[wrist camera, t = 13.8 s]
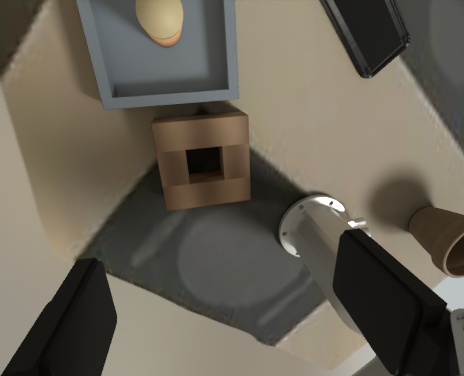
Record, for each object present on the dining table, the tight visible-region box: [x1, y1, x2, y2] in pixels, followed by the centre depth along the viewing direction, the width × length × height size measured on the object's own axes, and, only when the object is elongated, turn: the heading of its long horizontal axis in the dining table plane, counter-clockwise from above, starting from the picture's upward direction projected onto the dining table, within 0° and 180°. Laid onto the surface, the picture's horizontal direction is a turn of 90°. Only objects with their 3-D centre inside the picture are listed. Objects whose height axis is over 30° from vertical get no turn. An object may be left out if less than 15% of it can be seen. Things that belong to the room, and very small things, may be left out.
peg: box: [136, 0, 183, 48], centre depth 25 cm, size 4×4×11 cm
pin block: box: [151, 111, 251, 211], centre depth 36 cm, size 12×12×4 cm
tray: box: [76, 0, 239, 110], centre depth 29 cm, size 16×16×4 cm
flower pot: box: [409, 207, 464, 278], centre depth 47 cm, size 12×11×10 cm
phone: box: [321, 0, 410, 78], centre depth 34 cm, size 8×1×15 cm
